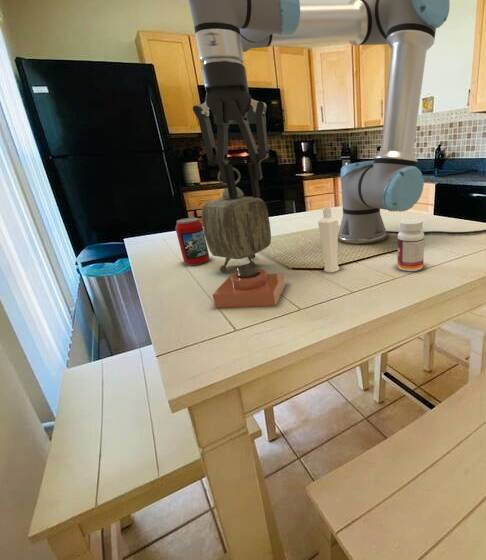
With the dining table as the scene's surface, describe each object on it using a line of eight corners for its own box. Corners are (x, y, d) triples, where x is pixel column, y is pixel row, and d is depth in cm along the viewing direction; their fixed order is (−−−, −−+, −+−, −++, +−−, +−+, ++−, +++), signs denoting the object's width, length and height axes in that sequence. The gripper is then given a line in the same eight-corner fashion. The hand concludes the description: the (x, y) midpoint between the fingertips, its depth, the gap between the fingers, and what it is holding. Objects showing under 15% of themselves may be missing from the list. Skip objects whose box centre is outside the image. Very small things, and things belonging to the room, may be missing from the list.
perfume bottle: (338, 272, 80) (334, 210, 75) (321, 272, 81) (315, 210, 76) (342, 266, 84) (339, 206, 79) (326, 266, 85) (321, 206, 80)
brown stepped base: (285, 285, 75) (282, 264, 73) (275, 305, 66) (271, 282, 64) (232, 287, 76) (228, 267, 74) (215, 308, 66) (210, 284, 64)
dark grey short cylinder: (261, 272, 71) (259, 263, 70) (255, 279, 67) (254, 269, 66) (242, 272, 71) (240, 263, 70) (236, 280, 67) (234, 270, 66)
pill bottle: (398, 262, 84) (398, 218, 80) (423, 263, 83) (424, 218, 79) (396, 271, 79) (396, 224, 75) (423, 272, 78) (425, 224, 73)
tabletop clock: (253, 256, 96) (237, 165, 87) (277, 260, 92) (264, 164, 83) (213, 273, 85) (190, 170, 75) (239, 278, 81) (218, 169, 71)
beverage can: (195, 267, 90) (184, 223, 86) (179, 264, 94) (168, 221, 89) (215, 259, 96) (206, 217, 91) (199, 256, 99) (190, 216, 95)
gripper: (165, 63, 57) (196, 202, 66) (265, 55, 56) (283, 197, 65) (185, 71, 64) (211, 196, 73) (275, 65, 63) (290, 192, 72)
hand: (245, 197), depth 69 cm, fingers open, 4 cm apart
